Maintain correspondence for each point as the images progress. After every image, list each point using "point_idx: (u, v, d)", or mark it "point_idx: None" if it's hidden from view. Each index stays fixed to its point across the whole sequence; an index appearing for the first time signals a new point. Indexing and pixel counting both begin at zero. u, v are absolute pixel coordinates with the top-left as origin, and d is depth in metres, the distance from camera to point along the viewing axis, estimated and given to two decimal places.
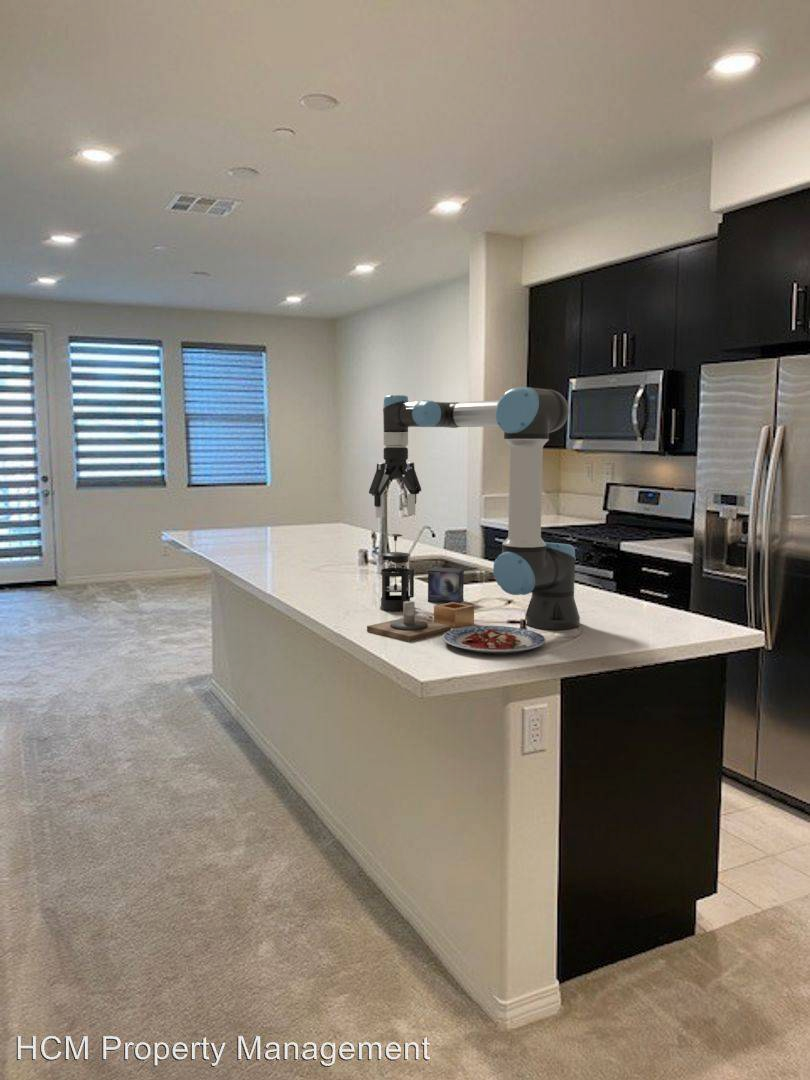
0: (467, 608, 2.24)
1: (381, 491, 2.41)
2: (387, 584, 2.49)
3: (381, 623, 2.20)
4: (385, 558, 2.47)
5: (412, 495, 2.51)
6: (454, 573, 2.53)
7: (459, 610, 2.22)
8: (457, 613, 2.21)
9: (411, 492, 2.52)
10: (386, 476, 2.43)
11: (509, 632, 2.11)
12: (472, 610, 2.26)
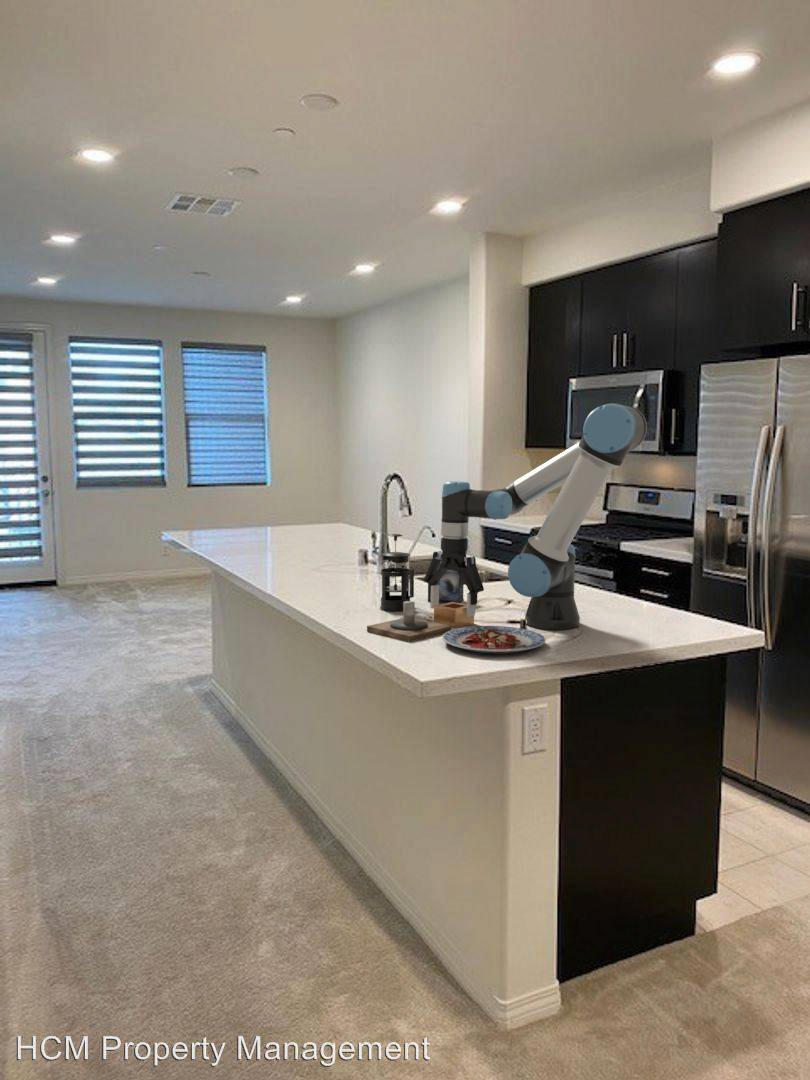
0: None
1: (431, 580, 2.30)
2: (387, 584, 2.49)
3: (381, 623, 2.20)
4: (385, 558, 2.47)
5: None
6: (454, 573, 2.53)
7: (459, 610, 2.22)
8: (457, 613, 2.21)
9: None
10: None
11: (509, 632, 2.11)
12: None
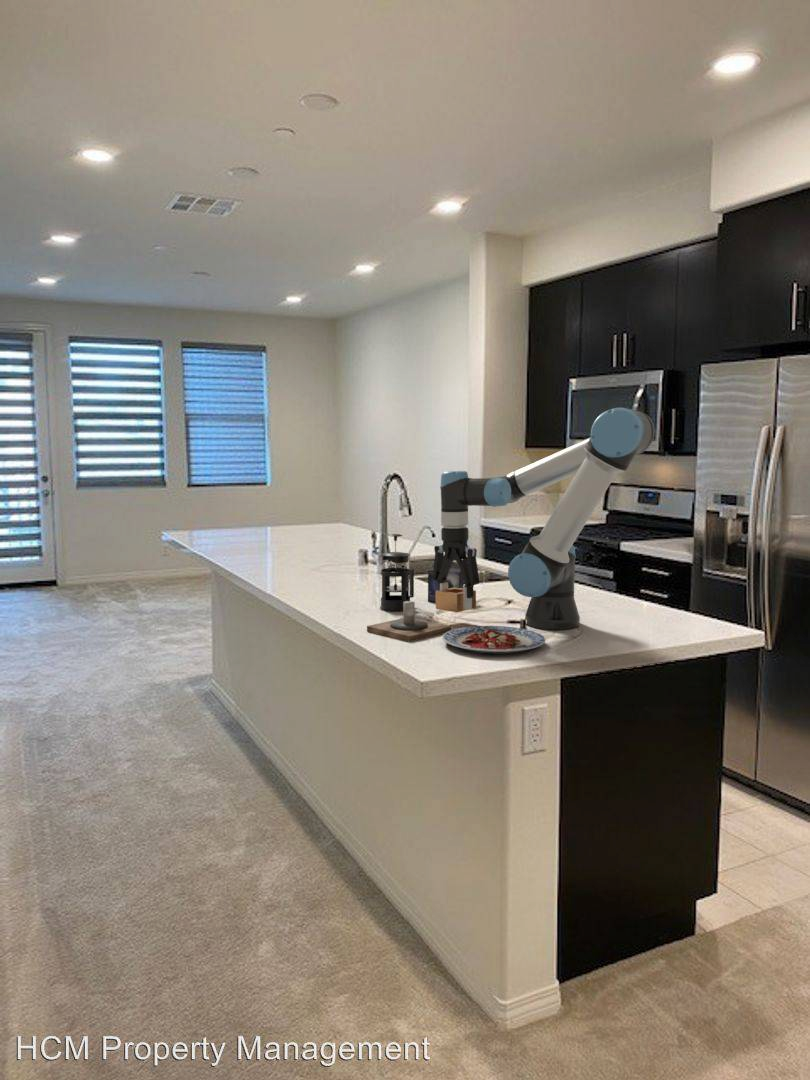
0: None
1: (439, 577, 2.27)
2: (387, 584, 2.49)
3: (381, 623, 2.20)
4: (385, 558, 2.47)
5: None
6: (454, 573, 2.53)
7: (461, 594, 2.21)
8: (459, 597, 2.20)
9: None
10: None
11: (509, 632, 2.11)
12: (474, 595, 2.25)
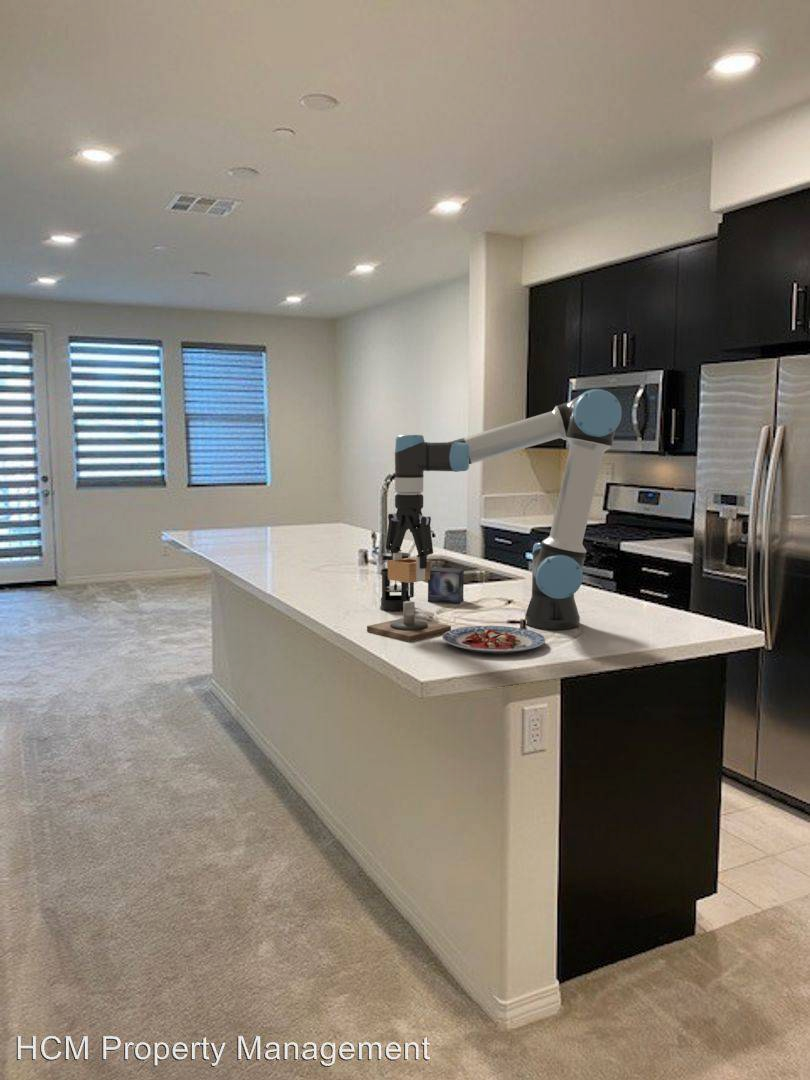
0: None
1: (392, 547, 2.17)
2: (387, 584, 2.49)
3: (381, 623, 2.20)
4: (385, 558, 2.47)
5: None
6: (454, 573, 2.53)
7: (413, 564, 2.10)
8: (411, 567, 2.10)
9: None
10: None
11: (509, 632, 2.11)
12: (428, 565, 2.14)
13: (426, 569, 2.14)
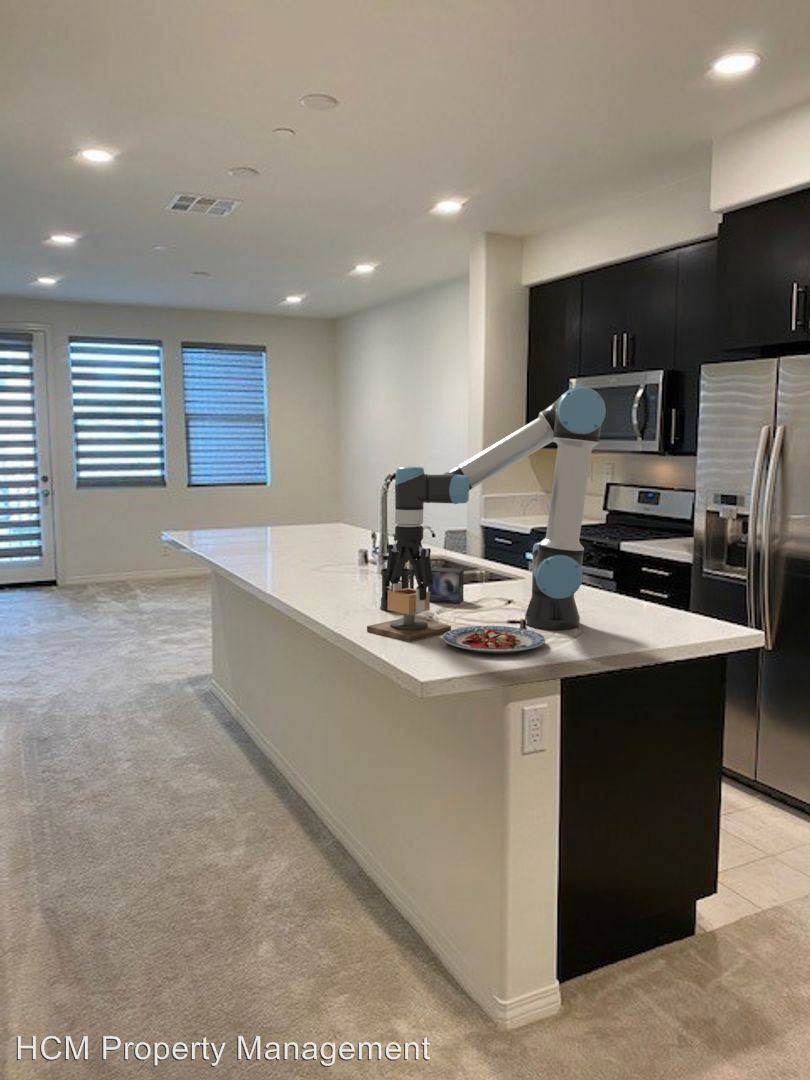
0: None
1: (392, 577, 2.18)
2: (387, 584, 2.49)
3: (381, 623, 2.20)
4: (385, 558, 2.47)
5: None
6: (454, 573, 2.53)
7: (413, 596, 2.11)
8: (411, 599, 2.11)
9: None
10: None
11: (509, 632, 2.11)
12: (428, 596, 2.15)
13: (426, 600, 2.15)
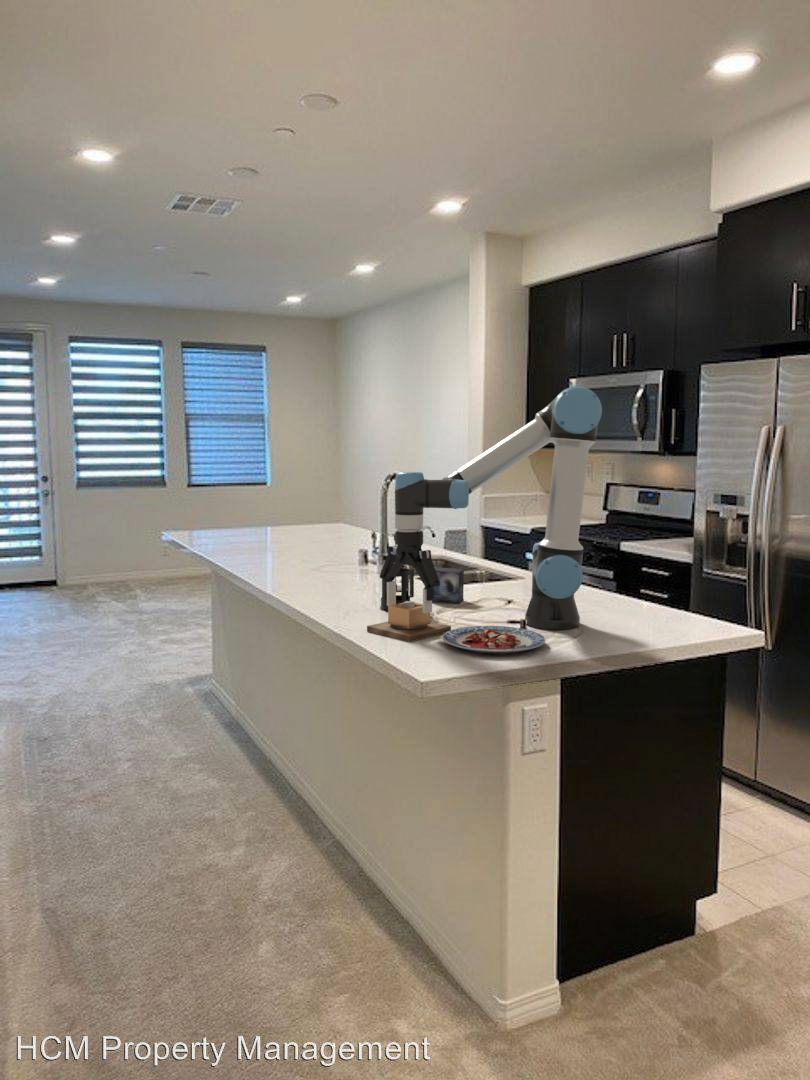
0: (422, 608, 2.14)
1: (387, 576, 2.19)
2: None
3: (381, 623, 2.20)
4: (385, 558, 2.47)
5: None
6: (454, 573, 2.53)
7: (413, 610, 2.12)
8: (412, 613, 2.11)
9: None
10: None
11: (509, 632, 2.11)
12: None
13: (426, 614, 2.15)
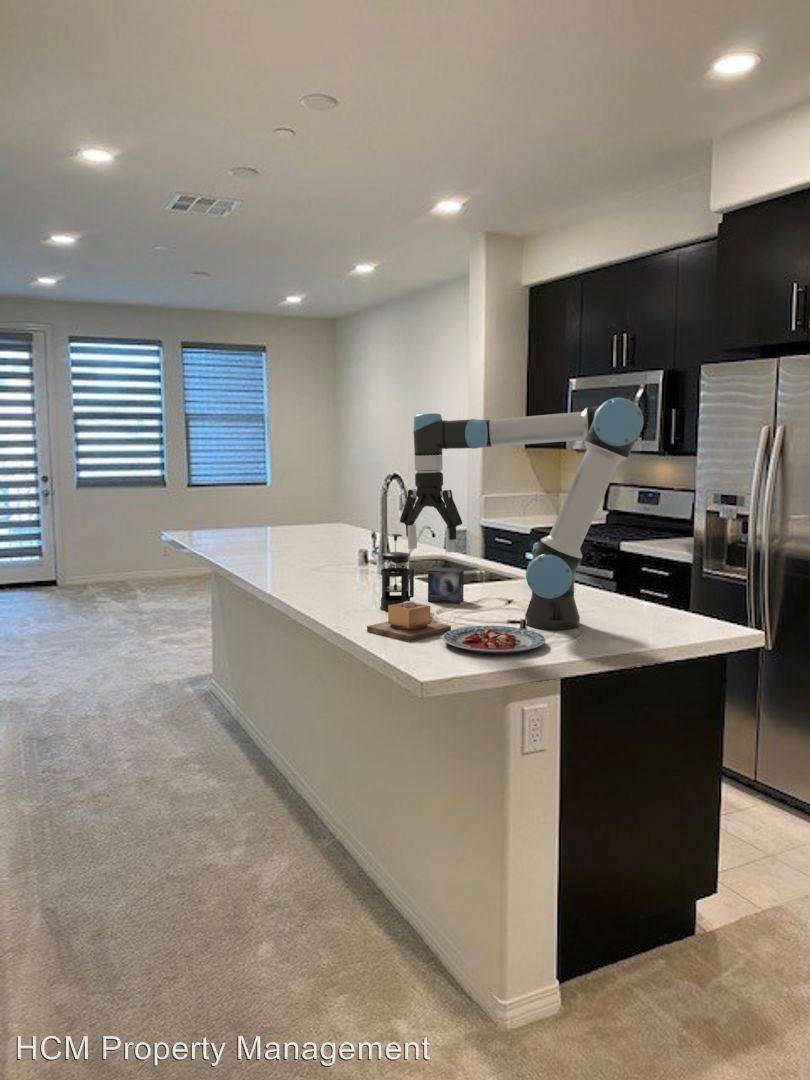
0: (422, 608, 2.14)
1: (407, 520, 2.21)
2: (387, 584, 2.49)
3: (381, 623, 2.20)
4: (385, 558, 2.47)
5: None
6: (454, 573, 2.53)
7: (413, 610, 2.12)
8: (412, 613, 2.11)
9: None
10: None
11: (509, 632, 2.11)
12: (428, 610, 2.15)
13: (426, 614, 2.15)
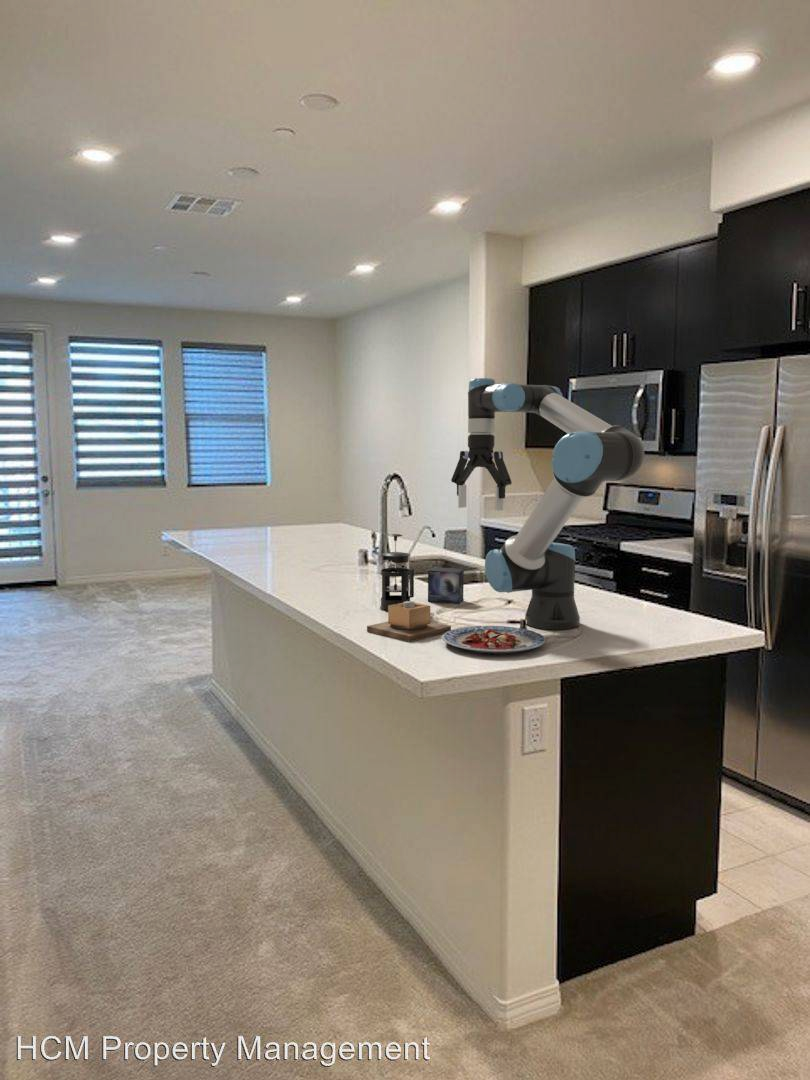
0: (422, 608, 2.14)
1: (458, 480, 2.34)
2: (387, 584, 2.49)
3: (381, 623, 2.20)
4: (385, 558, 2.47)
5: None
6: (454, 573, 2.53)
7: (413, 610, 2.12)
8: (412, 613, 2.11)
9: None
10: None
11: (509, 632, 2.11)
12: (428, 610, 2.15)
13: (426, 614, 2.15)
